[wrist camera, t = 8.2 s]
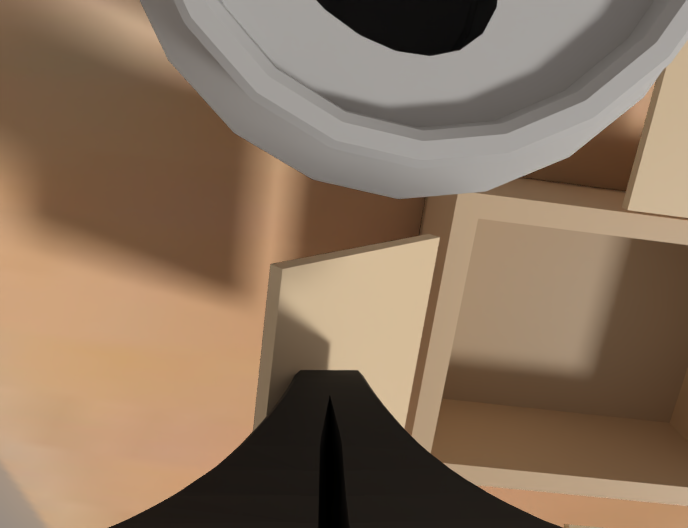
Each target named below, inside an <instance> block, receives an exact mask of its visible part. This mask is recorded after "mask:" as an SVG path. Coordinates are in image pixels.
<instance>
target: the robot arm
mask: <svg viewBox="0 0 688 528" xmlns="http://www.w3.org/2000/svg"><path fill="white" fill-rule="evenodd" d="M109 528H562V527H560V526H557V525H554V524H552V523H549V522H546V521H544V520H542V519H539V518H537V517H535V516H533V515H531V514H528V513H526V512H524V511H522V510H520V509H518V508H516V507H514V506H512V505H510V504H508V503H506V502H504V501H502V500H500V499H498V498H496V497H495V496H493V495H491V494H489V493H487V492H486V491H484V490H482V489H481V488H479V487H478V486H476V485H474V484H473V483H471V482H469V481H468V480H466V479H465V478H463V477H462V476H460V475H459V474H457V473H456V472H454V471H453V470H451V469H450V468H449V467H447V466H446V465H445V464H443V463H442V462H441V461H440V460H438V459H437V458H436V457H435V456H433V455H432V454H431V453H429V452H428V451H427V450H426V449H425V448H424V447H422V446H421V445H420V444H419V443H418V442H417V441H416V440H415V439H414V438H413V437H412V436H411V435H410V434H409V433H408V432H407V431H406V430H405V429H404V428H403V427H402V426H401V425H400V423H399V422H398V421H397V420H396V419H395V418H394V416H393V415H392V414H391V413H390V412H389V411H388V409H387V408H386V407H385V406H384V405H383V403H382V402H381V401H380V399H379V398H378V397H377V395H376V394H375V393H374V391H373V390H372V388H371V387H370V385H369V384H368V382H367V381H366V379H365V378H364V376H363V375H362V374H361V373H360V372H359V371H358V370H300V371H299V372H298V373H297V374H296V375H295V376H294V377H293V379H292V381H291V383H290V385H289V386H288V388H287V389H286V391H285V392H284V394H283V395H282V397H281V398H280V399H279V401H278V402H277V403H276V405H275V406H274V407H273V409H272V410H271V411H270V412H269V414H268V415H267V416H266V417H265V419H264V420H263V421H262V422H261V423H260V424H259V426H258V427H257V428H256V429H255V430H254V431H253V432H252V433H251V434H250V435H249V436H248V437H247V438H246V440H245V441H244V442H243V443H242V444H241V445H240V446H239V447H238V448H237V449H235V450H234V451H233V452H232V453H231V454H230V455H229V456H228V457H227V458H226V459H224V460H223V461H222V462H221V463H220V464H219V465H217V466H216V467H215V468H213V469H212V470H211V471H209V472H208V473H206V474H205V475H203V476H202V477H200V478H199V479H197V480H196V481H194V482H193V483H191V484H190V485H189V486H187V487H186V488H184V489H183V490H181V491H180V492H178V493H176V494H175V495H173V496H171V497H170V498H168V499H166V500H164V501H162V502H161V503H159V504H157V505H155V506H153V507H152V508H150V509H148V510H146V511H144V512H142V513H140V514H138V515H136V516H134V517H132V518H130V519H127V520H125V521H123V522H121V523H119V524H116V525H114V526H111V527H109Z"/></svg>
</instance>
